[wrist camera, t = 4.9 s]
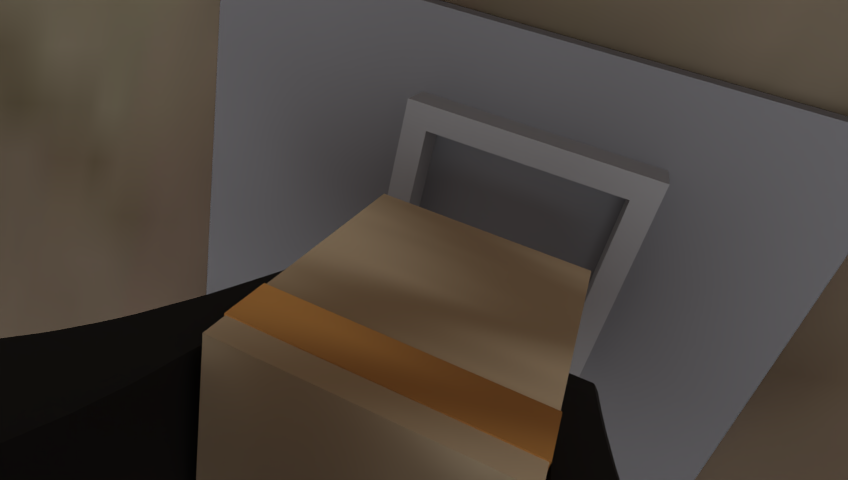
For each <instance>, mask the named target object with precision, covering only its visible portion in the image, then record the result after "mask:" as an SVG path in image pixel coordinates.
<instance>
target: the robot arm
mask: <svg viewBox="0 0 848 480" xmlns="http://www.w3.org/2000/svg"><path fill="white" fill-rule="evenodd" d="M283 271H284V270H283ZM283 271H279V272H276V273H273V274H270V275H267V276H264V277H261V278H258V279H255V280H252V281H249V282H245V283H242V284H239V285H236V286H233V287H229V288H226V289H223V290H220V291H217V292H214V293H210V294H207V295H204V296H201V297H197V298H194V299H190V300H186V301H183V302H179V303H175V304H171V305H168V306H164V307H160V308H157V309H153V310H149V311H145V312H142V313H138V314H134V315H130V316H126V317H121V318H117V319H112V320H108V321H103V322H99V323H94V324H88V325H83V326H78V327H72V328H67V329H62V330H56V331H50V332H44V333H38V334H30V335H23V336H15V337H8V338H1V339H0V480H196V469H197V446H198V424H199V402H200V380H201V358H202V335H203V332H204V331H206V330H207V329H208V328H210V327H211V326H212V325H213V324H215V323H216V322H217V321H219V320H220V319H221V318H223V317H224V313H225V312H227V311H228V310H229V309H230V308H232V307H233V306H234V305H236V304H237V303H238V302H240V301H241V300H242V299H244V298H245V297H246V296H248V295H249V294H250V293H252V292H253V291H254V290H255V289H257V288H258V287H259V286H261V285H262V284H263V283H266V284H267V283H268V282H270V281H271V280H272V279H273V278H275V277H276V276H277V275H279V274H280V273H281V272H283ZM561 411H562V417H561V421H560V426H559V431H558V435H557V440H556V445H555V449H554V454H553V459H552V462H551V464H550V467H549V469H548V471H547V475H546V480H620V479H619V475H618V472H617V469H616V465H615V462H614V458H613V455H612V451H611V447H610V443H609V440H608V436H607V432H606V428H605V423H604V419H603V415H602V410H601V405H600V400H599V394H598V391H597V388H596V386H595V384H594V383H592V382H590V381H587V380H585V379H583V378H580V377H578V376H575V375H573V374H571V373H569V375H568V380H567V384H566V389H565V393H564V398H563V402H562V407H561Z"/></svg>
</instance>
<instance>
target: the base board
mask: <svg viewBox="0 0 848 480" xmlns="http://www.w3.org/2000/svg"><path fill="white" fill-rule="evenodd" d="M383 194H386V195H389V196H392V197H394V198H397V199H400V200H402V201H405V202H408V203H411V204H413V205H416V206H419V207H421V208H424V209H427V210H429V211H432V212H435V213H437V214H440V215H443V216H445V217H448V218H451V219H453V220H456V221H459V222H461V223H464V224H467V225H470V226H472V227H475V228H478V229H480V230H483V231H486V232H488V233H491V234H494V235H496V236H499V237H502V238H504V239H507V240H510V241H512V242H515V243H518V244H521V245H523V246H526V247H529V248H531V249H534V250H537V251H539V252H542V253H545V254H547V255H550V256H553V257H555V258H558V259H561V260H563V261H566V262H569V263H571V264H574V265H577V266H580V267H582V268H585V269H588V270H590V271H591V275H590V279H589V284H588V289H587V293H586V298H585V302H584V307H583V311H582V316H581V320H580V325H579V329H578V334H577V339H576V343H575V348H574V352H573V357H572V361H571V366H570V370H569V373H571V374H573V375H575V376H578V377H580V378H583V379H585V380H587V381H590V382H592V383H594V384H595V386H596V388H597V391H598V394H599V400H600V405H601V410H602V415H603V419H604V423H605V428H606V432H607V436H608V440H609V443H610V447H611V451H612V455H613V458H614V462H615V465H616V469H617V472H618V475H619V479H620V480H695V478H696V477H697V475H698V474H699V472H700V471H701V469H702V468H703V467H704V465H705V464H706V462H707V461H708V459H709V458H710V456H711V455H712V453H713V452H714V450H715V449H716V447H717V446H718V444H719V443H720V442H721V440H722V439H723V437H724V436H725V434H726V433H727V431H728V430H729V428H730V427H731V425H732V424H733V422H734V421H735V419H736V418H737V417H738V415H739V414H740V412H741V411H742V409H743V408H744V406H745V405H746V403H747V402H748V400H749V399H750V397H751V396H752V394H753V393H754V392H755V390H756V389H757V387H758V386H759V384H760V383H761V381H762V380H763V378H764V377H765V375H766V374H767V372H768V371H769V369H770V368H771V367H772V365H773V364H774V362H775V361H776V359H777V358H778V356H779V355H780V353H781V352H782V350H783V349H784V347H785V346H786V344H787V343H788V341H789V340H790V339H791V337H792V336H793V334H794V333H795V331H796V330H797V328H798V327H799V325H800V324H801V322H802V321H803V319H804V318H805V316H806V315H807V314H808V312H809V311H810V309H811V308H812V306H813V305H814V303H815V302H816V300H817V299H818V297H819V296H820V294H821V293H822V291H823V290H824V289H825V287H826V286H827V284H828V283H829V281H830V280H831V278H832V277H833V275H834V274H835V272H836V271H837V269H838V268H839V266H840V265H841V264H842V262H843V261H844V259H845V258H846V256H847V255H848V116H844V115H841V114H837V113H834V112H830V111H827V110H823V109H820V108H816V107H813V106H809V105H806V104H802V103H799V102H795V101H792V100H788V99H784V98H781V97H777V96H774V95H770V94H767V93H763V92H760V91H756V90H753V89H749V88H746V87H742V86H739V85H735V84H732V83H728V82H725V81H721V80H718V79H714V78H711V77H707V76H704V75H700V74H697V73H693V72H690V71H686V70H683V69H679V68H676V67H672V66H669V65H665V64H662V63H658V62H655V61H651V60H648V59H644V58H641V57H637V56H634V55H630V54H627V53H623V52H620V51H616V50H613V49H609V48H606V47H602V46H599V45H595V44H591V43H588V42H584V41H581V40H577V39H574V38H570V37H567V36H563V35H560V34H556V33H553V32H549V31H546V30H542V29H539V28H535V27H532V26H528V25H525V24H521V23H518V22H514V21H511V20H507V19H504V18H500V17H497V16H493V15H490V14H486V13H483V12H479V11H476V10H472V9H469V8H465V7H462V6H458V5H455V4H451V3H448V2H444V1H441V0H220V17H219V38H218V59H217V81H216V102H215V123H214V144H213V165H212V187H211V208H210V229H209V250H208V271H207V293H206V295H207V294H210V293H214V292H217V291H220V290H223V289H226V288H229V287H233V286H236V285H239V284H242V283H245V282H249V281H252V280H255V279H258V278H261V277H264V276H267V275H270V274H273V273H276V272H279V271H283V270H285V269H286V268H288V267H289V266H290V265H292V264H293V263H294V262H296V261H297V260H298V259H300V258H301V257H302V256H303V255H305V254H306V253H307V252H309V251H310V250H311V249H313V248H314V247H315V246H316V245H318V244H319V243H320V242H322V241H323V240H324V239H326V238H327V237H328V236H329V235H331V234H332V233H333V232H335V231H336V230H337V229H339V228H340V227H341V226H343V225H344V224H345V223H346V222H348V221H349V220H350V219H352V218H353V217H354V216H356V215H357V214H358V213H359V212H361V211H362V210H363V209H365V208H366V207H367V206H369V205H370V204H371V203H373V202H374V201H375V200H376V199H378V198H379V197H380V196H382V195H383Z"/></svg>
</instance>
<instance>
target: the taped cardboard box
mask: <svg viewBox="0 0 848 480" xmlns="http://www.w3.org/2000/svg"><path fill="white" fill-rule="evenodd" d="M590 275H591V271H590V270H588V269H585V268H582V267H580V266H577V265H574V264H571V263H569V262H566V261H563V260H561V259H558V258H555V257H553V256H550V255H547V254H545V253H542V252H539V251H537V250H534V249H531V248H529V247H526V246H523V245H521V244H518V243H515V242H512V241H510V240H507V239H504V238H502V237H499V236H496V235H494V234H491V233H488V232H486V231H483V230H480V229H478V228H475V227H472V226H470V225H467V224H464V223H461V222H459V221H456V220H453V219H451V218H448V217H445V216H443V215H440V214H437V213H435V212H432V211H429V210H427V209H424V208H421V207H419V206H416V205H413V204H411V203H408V202H405V201H402V200H400V199H397V198H394V197H392V196H389V195H386V194H383V195H382V196H380V197H379V198H378V199H376V200H375V201H374V202H373V203H371V204H370V205H369V206H367V207H366V208H365V209H363V210H362V211H361V212H359V213H358V214H357V215H356V216H354V217H353V218H352V219H350V220H349V221H348V222H346V223H345V224H344V225H343V226H341V227H340V228H339V229H337V230H336V231H335V232H333V233H332V234H331V235H329V236H328V237H327V238H326V239H324V240H323V241H322V242H320V243H319V244H318V245H316V246H315V247H314V248H313V249H311V250H310V251H309V252H307V253H306V254H305V255H303V256H302V257H301V258H300V259H298V260H297V261H296V262H294V263H293V264H292V265H290V266H289V267H288V268H286V269H285V270H284V271H283V272H281V273H280V274H279V275H277V276H276V277H275V278H273V279H272V280H271V281H270V282H268V283H267V284H266V283H263V284H262V285H261V286H259V287H258V288H257V289H255V290H254V291H253V292H252V293H250V294H249V295H248V296H246V297H245V298H244V299H242V300H241V301H240V302H238V303H237V304H236V305H234V306H233V307H232V308H230V309H229V310H228V311H227V312H225V313H224V317H223V318H221V319H220V320H219V321H217V322H216V323H215V324H213V325H212V326H211V327H210V328H208V329H207V330H206V331H204V332H203V335H202V358H201V380H200V402H199V424H198V446H197V469H196V480H546V475H547V471H548V469H549V467H550V464H551V462H552V459H553V454H554V449H555V445H556V440H557V435H558V431H559V426H560V421H561V417H562V411H561V407H562V402H563V398H564V393H565V389H566V384H567V380H568V375H569V370H570V366H571V361H572V357H573V352H574V348H575V343H576V339H577V334H578V329H579V325H580V320H581V316H582V311H583V307H584V302H585V298H586V293H587V289H588V284H589V279H590Z"/></svg>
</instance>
